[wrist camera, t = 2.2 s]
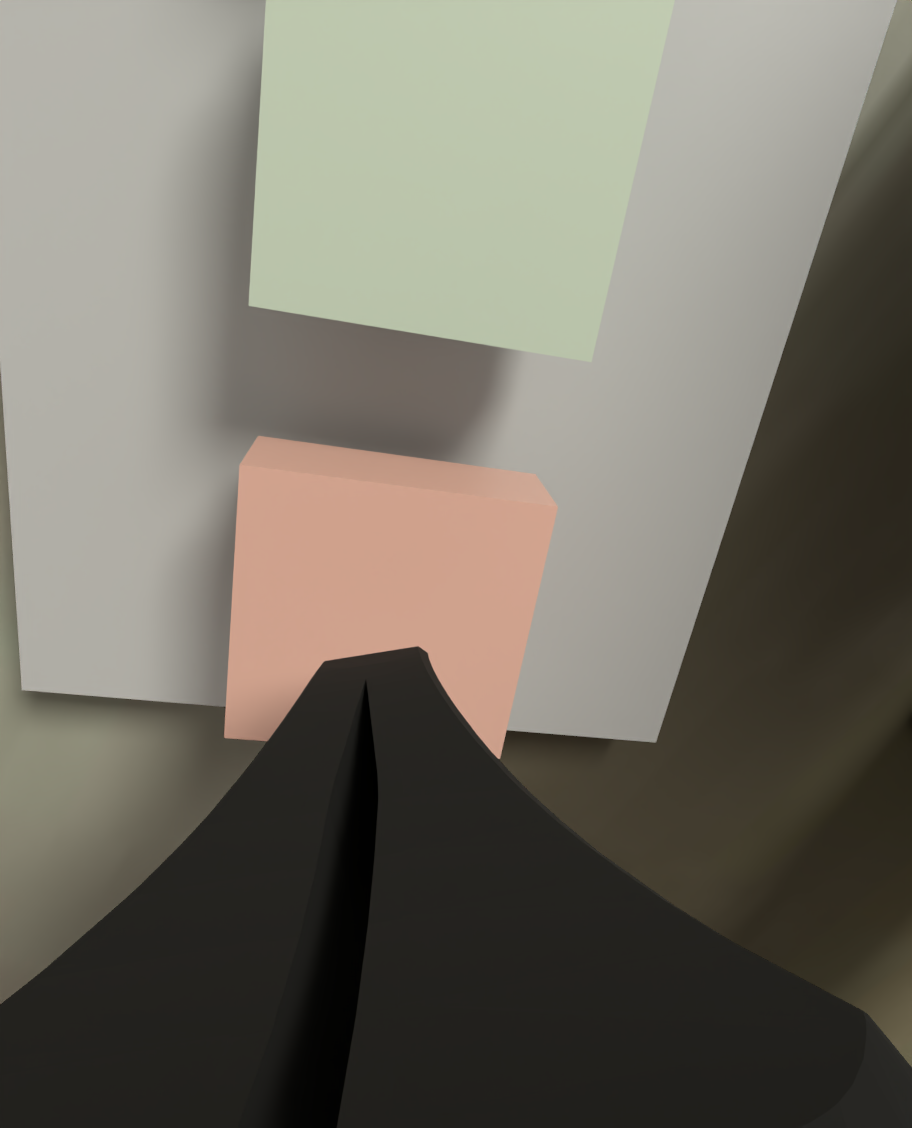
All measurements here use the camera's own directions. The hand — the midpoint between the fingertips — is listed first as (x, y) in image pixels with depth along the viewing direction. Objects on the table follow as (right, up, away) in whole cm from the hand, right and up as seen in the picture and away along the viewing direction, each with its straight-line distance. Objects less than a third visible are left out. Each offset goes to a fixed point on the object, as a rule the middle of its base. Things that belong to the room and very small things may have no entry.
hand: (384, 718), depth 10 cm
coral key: (-1, +2, +5) cm, 6 cm away
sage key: (+1, +9, +3) cm, 9 cm away
